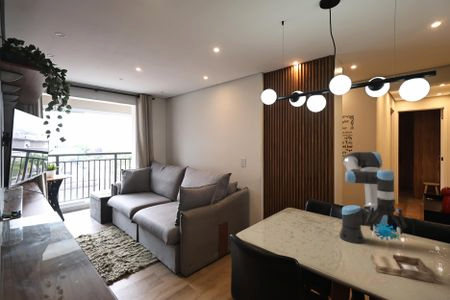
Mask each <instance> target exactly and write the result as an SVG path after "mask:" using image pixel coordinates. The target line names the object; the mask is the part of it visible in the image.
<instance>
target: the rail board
mask: <svg viewBox="0 0 450 300" xmlns="http://www.w3.org/2000/svg"><path fill="white" fill-rule="evenodd" d="M369 257H370V260H371V263H372V265H373V268H374V270H375V272H376V273H379V274H385V275H389V276H396V277H401V278H408V279H411V280H419V281H422V282H428V283H434V273H432V271H431V270H430V269H429V268H428V266H427V265H426V263H424V262H423V261H422V259H421V258H420V257H412V256H406V255H399V254H394V253H393V254H392V257H386V256H381V255H374V254H373V255H372V254H370V256H369Z"/></svg>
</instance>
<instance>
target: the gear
mask: <svg viewBox="0 0 450 300" xmlns="http://www.w3.org/2000/svg"><path fill="white" fill-rule="evenodd" d="M376 225H377V226H378V227H379V224H376ZM383 225H384V223H381V227H379V228H376V227H375V237H377V238H379V237H380V240H385V241H387V242H388V241H389V240H397V237H399V236H398V234H397V230H396V229H394V226H393V225H389V223H388V222H387V223H386V225H385V226H383ZM384 238H385V239H384Z"/></svg>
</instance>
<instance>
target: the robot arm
mask: <svg viewBox="0 0 450 300" xmlns="http://www.w3.org/2000/svg"><path fill="white" fill-rule="evenodd" d="M342 163H343V166H344V167H345V168H346V171H345V173H344V174H345V178H344V179H345V182H346V183H348V184H361V185H362V184H364V196H365V205H363V208H361V206H360V205H355V204H348V205H344V206H343V207H342V209H341V228H340V231H339V238H340V239H341V240H343V241H345V242H348V243H353V244H361V243H364V242H365V237H364V234H363V231H362V226H363V227H369V230H370V231H371V233H372V237H373V238H376V233H375V231H376V229H375V227H376V228H377V229H379V227H381V223H384V225H383V226H385V225H386V223H387V224H388V217H390V216H391V218H392V220H394V222H395V223H396V224H397V226H396V234H398V236H399V237H397V238H396V240H397V241H398V242H400V241H401V235H403V230H404V229H407V228H408V225H407V223H406V220H405V218H404V216H403V210H402V208H399V207H398V208H395V171H393V170H391V169H390V170H389V169H381V168H382V167H383V159H382V156H381V154H380V153H379V152H377V151H354V152H353V151H352V152H350V153H348V154H346V155H345V156H344V158H343V159H342ZM395 212H396V213H397V215H398V217H399V219H400V221H399V220H398V218H397V217H396V216H395V214H394V213H395ZM400 222H401V223H400ZM376 224H379V227H378V226H377V225H376Z"/></svg>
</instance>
